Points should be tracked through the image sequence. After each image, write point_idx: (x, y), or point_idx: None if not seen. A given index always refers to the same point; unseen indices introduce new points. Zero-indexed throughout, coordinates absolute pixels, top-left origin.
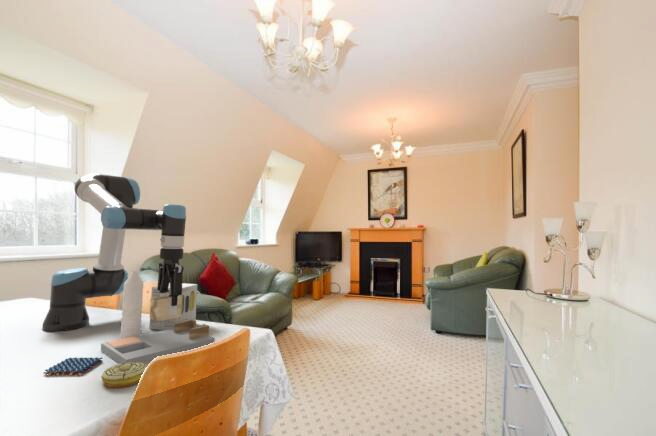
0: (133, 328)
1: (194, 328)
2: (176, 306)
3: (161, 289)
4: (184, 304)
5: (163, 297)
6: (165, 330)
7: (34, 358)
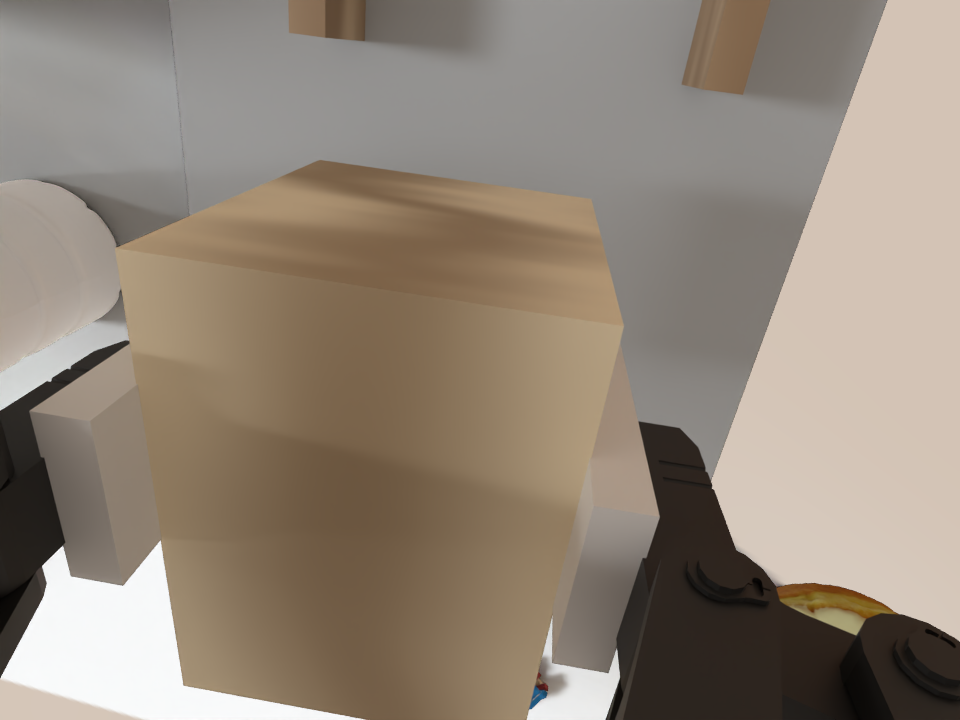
0: (59, 304)
1: (744, 26)
2: (621, 379)
3: (6, 660)
4: None
5: (321, 581)
6: (192, 53)
7: (160, 666)
